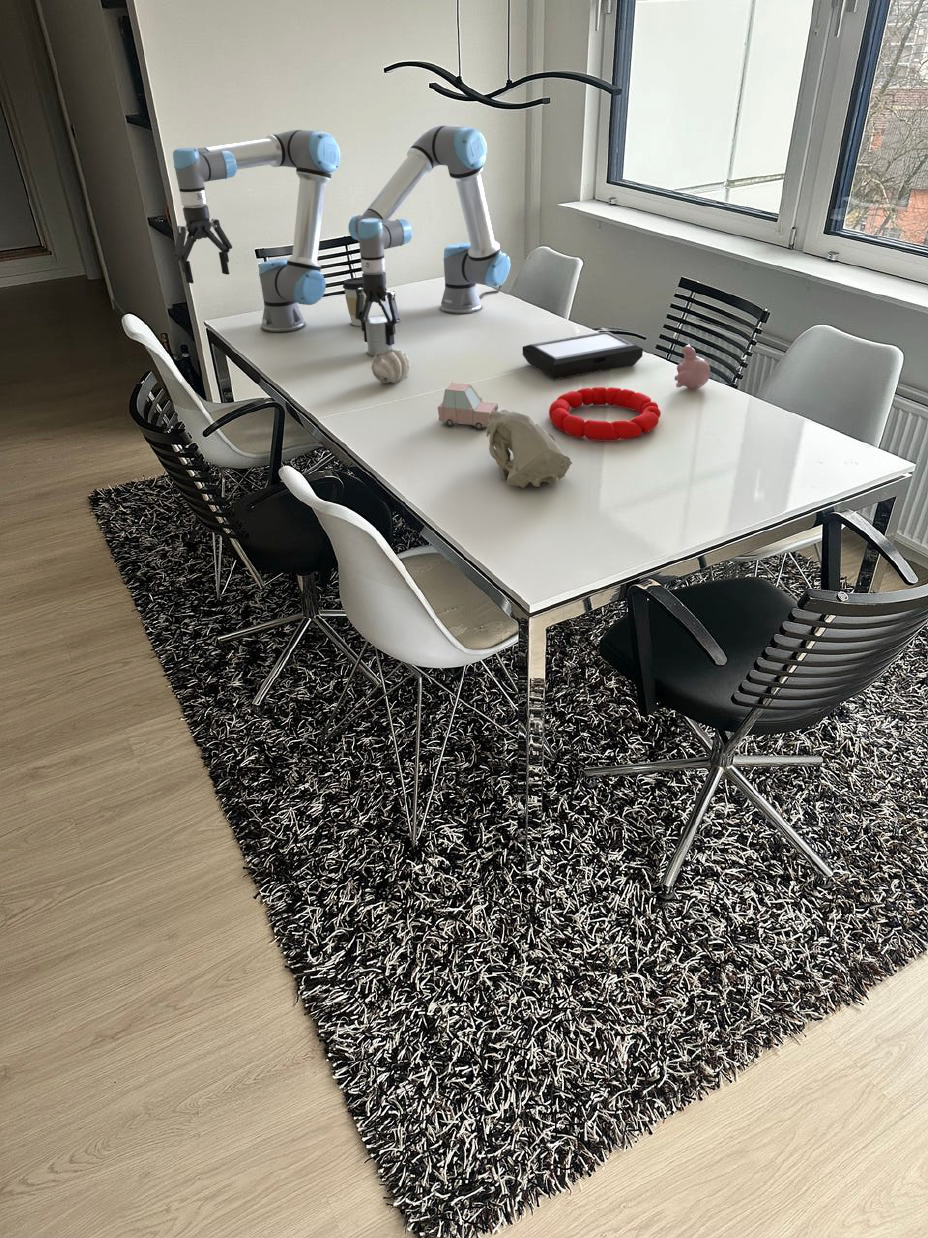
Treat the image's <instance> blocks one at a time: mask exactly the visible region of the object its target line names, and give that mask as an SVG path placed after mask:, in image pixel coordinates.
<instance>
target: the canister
mask: <svg viewBox="0 0 928 1238" xmlns="http://www.w3.org/2000/svg"><path fill="white" fill-rule="evenodd" d="M365 324H366V335H367V342H366V346H367V354H368V355H369V356H371V357H375V354H376V353H383V352H384V351H385V350H393V345H391V346H388V335H387V325H389V324H388V321H387V319H386V317H385V316H381V315H380V316H379V315H378V316H369V317H368V318H367V319H366V320H365Z"/></svg>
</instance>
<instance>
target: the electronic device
mask: <svg viewBox="0 0 928 1238" xmlns="http://www.w3.org/2000/svg"><path fill="white" fill-rule="evenodd" d="M643 353H644V348H643V347H642V346H639V345H637V344H635V343H633V342H631V341H629V340H627V339H625V338H623V337H621V336H619V335H617V334H615V333H613V332H610V331H608V330H606V331H600V332H594V333H589V334H583V335H578V336H572V337H566V338H561V339H555V340H548V341H544V342H543V341H542V342H537V343H532V344H527V345H524V346H522V356H523V358H525V360H526V361H527V363H528V365H530V366H532V367H533V368H535V369H537V370H538V371H540V372H542V373H544V374H545V375H547V376H548V377H550V378H551V379H553V380H554V381H555V380H558V379H565V378H569V377H575V376H581V375H586V374H592V373H597V372H601V371H608V370H613V369H617V368H618V369H619V368H624V367H627V366H635V365H636V363H638V362H639V361H640V360H641V358H643V355H644V354H643Z"/></svg>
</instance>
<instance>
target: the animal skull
mask: <svg viewBox="0 0 928 1238" xmlns="http://www.w3.org/2000/svg"><path fill="white" fill-rule="evenodd" d="M485 436H486V438H487V437H489V438H488V440H489V444H488V445H489V446H488V450H489V454H490V456H491V457H492V458H493V459H494V460H495V462H496V464H497V466H499V468H500V470H501V471H502V472H501V478H502V479H507V480H506V484H507V486H517V487H518V486H519V488H523V489H524V488H526V486H527V485H529V483H531V485H533V486H534V487H536V488H540V485H541V484H542V482H544V483H549V484H550V485H553V484H555V483H556V482H557V480H561V479H563V478H565V476H566V474H567V472H568V471H569V469H570V467H571V466H572V464H573V462H572V461H571V458H570V457H568V456H567V455H565V453H564V451H562V449H561V448H560V446H559V444H557V443H556V439H555V438H554V436H553V435H551V434H550V433H548V432H547V431H546V430H545V429H544V428H542V427H541V426H539V425H538V424H537V423H536V424H535V422H534V421H533V419H532V418H531V417H530V416H529V415H527V414H524V413H519V412H515V411H509V410H507V409H502V410H500V411H499V410H497V411H496V412H492V413H491V414H490V422H488V423H487V427H486V435H485ZM511 453H512V454H511ZM511 455H512V457H513V458H512V460H511ZM507 474H508V475H507Z"/></svg>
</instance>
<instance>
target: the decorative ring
mask: <svg viewBox="0 0 928 1238" xmlns="http://www.w3.org/2000/svg"><path fill="white" fill-rule="evenodd" d="M583 405H584V406H586V407H587V406H591V405H593V406H604V405H608V406H614V407H619V408H624V409H628V410H632V411H635V412H636V413H638V414H639V415H637V416H635V417H632V418H631V419H630V420H625V419H624V420H623V419H622V420H614V421H611V422H609V421H607V420H606V421H605V420H593V419H587V420H586V421H585V419H584V418H582V417H579V416H577V415H573V414H571V413H570V410H571V409H579V408H581V407H582V406H583ZM548 416H549V419H550V422H551V423H552V425H553V426H554V427H555V428H556V429H558V430H559V431H561V432H563V433H567V434H568V435H569V436H573V437H576V438H580V439H582V438H583V437H585V438H586V439H587V440H591V441H601V442H602V441H603V442H608V441H609V442H610V441H611V442H612V441H615V442H616V441H618V440H630V439H634V438H638V437H641V436H642V434H647V433H650V432H651V431H653V430H654V429H655V428H656V427H657V426H658V424H659V422H660V421H659V420H660V417H661V410H660V408H659V405H658V403H657V402H656V401H652V399H651V397H649V396H648V395H646V394H644V393H642V392H635V391H634V390H632V389H628V388H624V389H622V388H620V387H613V386H612V387H611V386H610V387H608V388H606V387H604V386H594V387H585V388H584V387H583V388H580V389H578V390H571V391H568V392H565V393H563V394H561V395H560V396H558V397H557V398H556V400H554V401H552V403H551V404H550V407H549V409H548Z"/></svg>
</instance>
